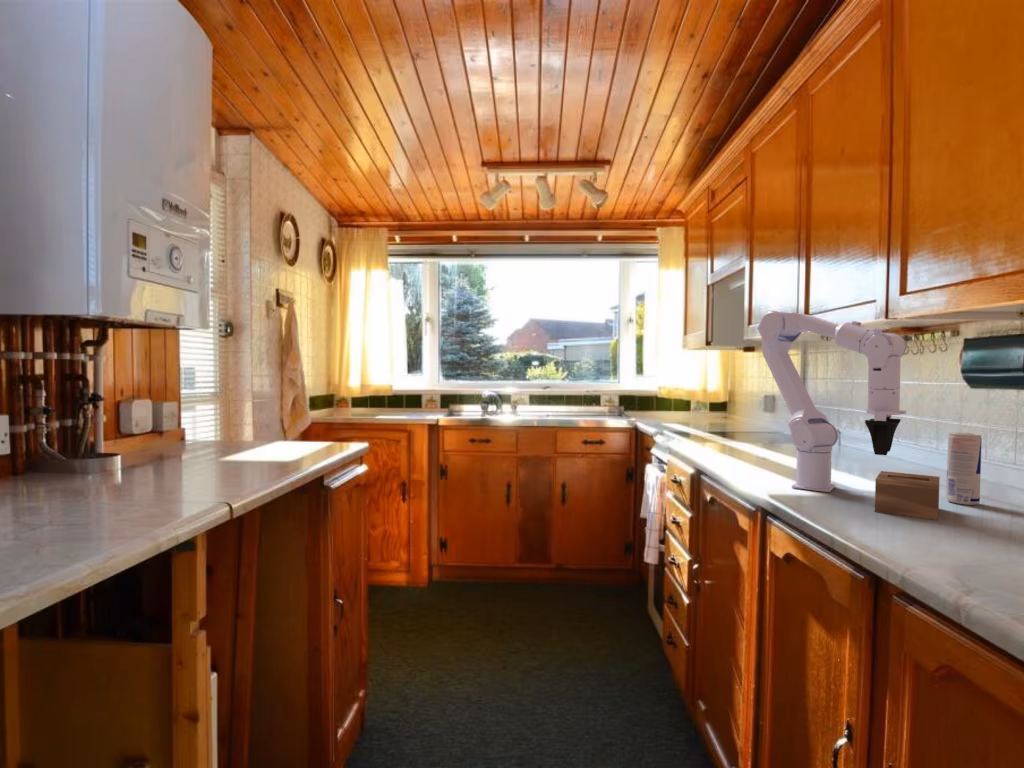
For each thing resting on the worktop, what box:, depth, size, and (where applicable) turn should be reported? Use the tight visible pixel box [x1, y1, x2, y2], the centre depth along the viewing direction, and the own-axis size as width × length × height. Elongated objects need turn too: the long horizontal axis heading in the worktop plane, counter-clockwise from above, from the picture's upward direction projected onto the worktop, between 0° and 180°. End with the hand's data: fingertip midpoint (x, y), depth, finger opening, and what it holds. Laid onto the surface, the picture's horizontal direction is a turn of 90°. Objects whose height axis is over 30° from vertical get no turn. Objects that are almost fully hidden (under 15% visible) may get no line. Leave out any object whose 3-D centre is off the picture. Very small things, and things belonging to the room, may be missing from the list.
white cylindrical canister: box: [945, 431, 982, 506], centre depth 122 cm, size 6×6×15 cm
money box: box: [874, 470, 941, 521], centre depth 114 cm, size 12×10×6 cm
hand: (882, 452), depth 122 cm, fingers open, 7 cm apart
